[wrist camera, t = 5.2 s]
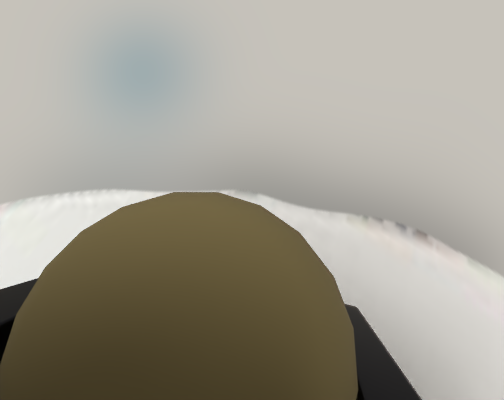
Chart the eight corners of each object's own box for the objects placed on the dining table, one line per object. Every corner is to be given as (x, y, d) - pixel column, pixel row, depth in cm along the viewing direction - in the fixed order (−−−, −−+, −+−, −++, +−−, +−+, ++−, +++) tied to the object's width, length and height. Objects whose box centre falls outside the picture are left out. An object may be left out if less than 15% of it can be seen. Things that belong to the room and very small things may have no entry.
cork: (329, 289, 14) (429, 157, 4) (311, 454, 12) (438, 984, 2) (199, 264, 15) (40, 112, 5) (159, 412, 13) (-255, 626, 3)
